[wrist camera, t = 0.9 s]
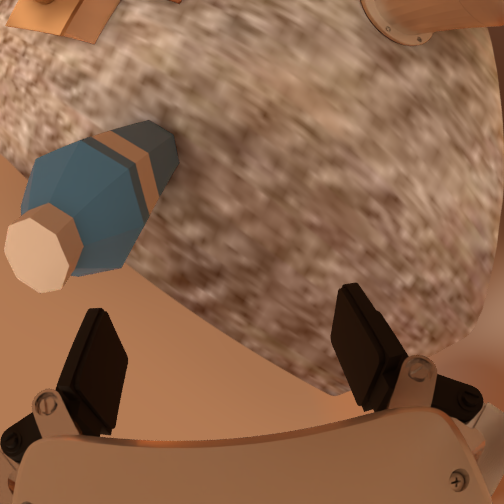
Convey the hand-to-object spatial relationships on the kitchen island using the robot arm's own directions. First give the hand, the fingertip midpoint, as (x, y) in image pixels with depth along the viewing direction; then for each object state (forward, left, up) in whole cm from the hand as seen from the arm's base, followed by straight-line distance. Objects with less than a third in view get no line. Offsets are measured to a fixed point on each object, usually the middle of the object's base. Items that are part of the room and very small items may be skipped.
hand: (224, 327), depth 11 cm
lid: (-13, -26, -18) cm, 34 cm away
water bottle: (+2, -9, -27) cm, 29 cm away
